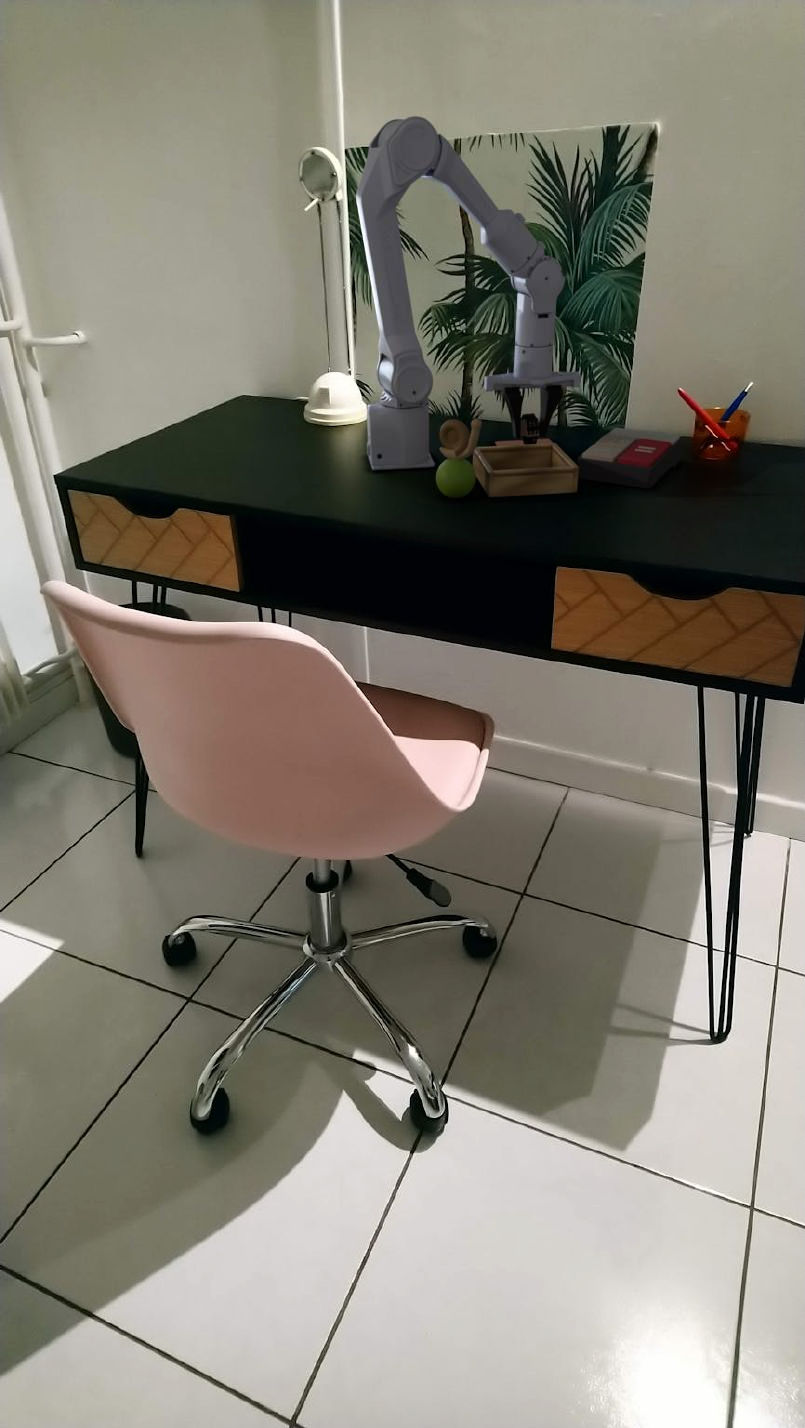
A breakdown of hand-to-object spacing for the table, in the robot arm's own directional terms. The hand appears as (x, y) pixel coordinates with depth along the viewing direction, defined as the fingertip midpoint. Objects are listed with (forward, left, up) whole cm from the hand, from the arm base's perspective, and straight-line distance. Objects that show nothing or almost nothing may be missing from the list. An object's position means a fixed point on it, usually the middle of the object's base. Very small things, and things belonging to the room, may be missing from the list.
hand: (529, 436), depth 140 cm
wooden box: (-5, -16, -2) cm, 16 cm away
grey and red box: (+12, -13, -2) cm, 18 cm away
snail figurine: (-15, -21, -2) cm, 26 cm away
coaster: (0, 0, -2) cm, 2 cm away
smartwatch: (0, 0, -2) cm, 2 cm away
